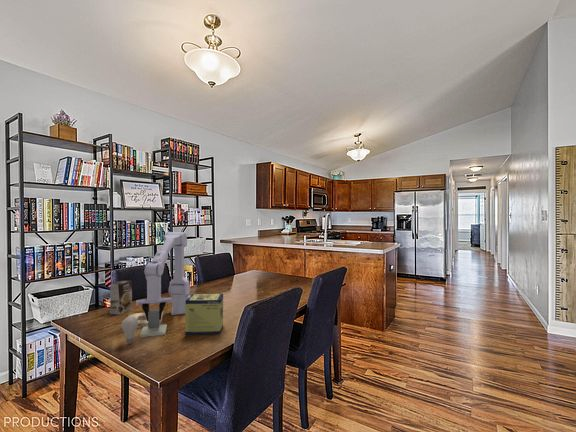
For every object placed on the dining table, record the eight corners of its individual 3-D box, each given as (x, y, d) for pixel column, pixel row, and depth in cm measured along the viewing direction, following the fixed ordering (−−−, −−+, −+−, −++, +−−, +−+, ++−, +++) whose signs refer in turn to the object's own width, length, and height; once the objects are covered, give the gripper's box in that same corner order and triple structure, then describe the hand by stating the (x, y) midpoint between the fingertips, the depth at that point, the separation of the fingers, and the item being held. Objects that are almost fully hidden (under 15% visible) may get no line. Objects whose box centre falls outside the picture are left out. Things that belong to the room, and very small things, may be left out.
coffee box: (120, 315, 160) (120, 284, 160) (109, 314, 161) (109, 283, 161) (132, 309, 169) (132, 280, 169) (122, 308, 170) (122, 279, 170)
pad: (166, 326, 144) (166, 324, 144) (165, 334, 135) (165, 332, 135) (143, 328, 141) (143, 326, 141) (140, 337, 132) (140, 334, 132)
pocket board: (163, 314, 160) (163, 311, 160) (160, 325, 145) (160, 321, 145) (129, 317, 156) (129, 314, 156) (122, 329, 140) (122, 325, 140)
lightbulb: (125, 341, 128) (125, 314, 128) (140, 340, 128) (140, 314, 128) (118, 347, 122) (118, 319, 122) (134, 346, 122) (134, 319, 122)
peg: (160, 324, 141) (160, 308, 141) (159, 327, 137) (159, 311, 137) (149, 325, 140) (149, 308, 140) (148, 328, 135) (148, 311, 135)
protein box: (220, 334, 135) (220, 299, 135) (184, 335, 134) (184, 300, 134) (223, 325, 146) (223, 293, 146) (190, 326, 144) (190, 293, 144)
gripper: (134, 293, 132) (134, 324, 132) (170, 290, 136) (170, 321, 136) (137, 289, 138) (137, 319, 139) (171, 287, 143) (171, 315, 143)
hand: (154, 319), depth 138 cm, fingers closed on peg, 4 cm apart
